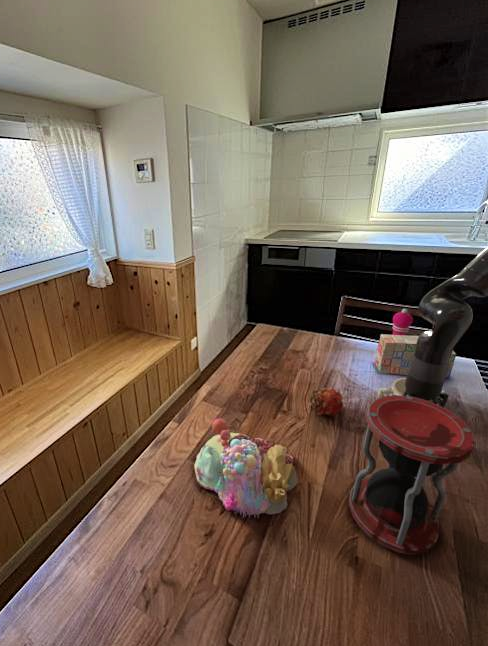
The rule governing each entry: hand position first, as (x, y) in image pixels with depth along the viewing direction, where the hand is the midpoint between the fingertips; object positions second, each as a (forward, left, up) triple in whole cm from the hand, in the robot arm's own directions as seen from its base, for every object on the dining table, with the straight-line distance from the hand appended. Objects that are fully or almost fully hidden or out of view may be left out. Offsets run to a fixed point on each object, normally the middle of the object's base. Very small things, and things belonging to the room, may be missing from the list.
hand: (411, 426), depth 88 cm
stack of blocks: (-11, -34, -4) cm, 36 cm away
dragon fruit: (+20, -7, -4) cm, 21 cm away
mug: (-4, -14, -3) cm, 15 cm away
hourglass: (+11, +25, -4) cm, 28 cm away
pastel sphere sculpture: (+42, +20, -4) cm, 47 cm away
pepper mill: (-8, -42, -4) cm, 43 cm away
